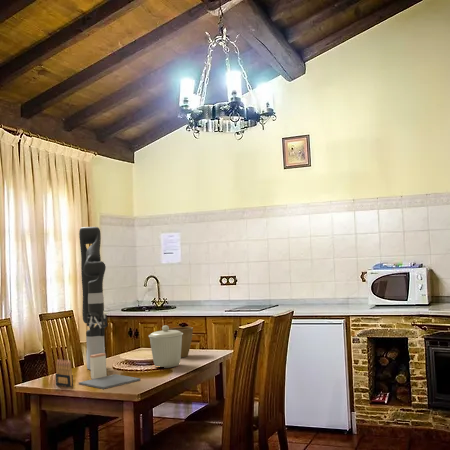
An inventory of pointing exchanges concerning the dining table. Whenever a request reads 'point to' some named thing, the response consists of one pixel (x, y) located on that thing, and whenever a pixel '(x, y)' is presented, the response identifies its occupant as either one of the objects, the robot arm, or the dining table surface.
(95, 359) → the cream block
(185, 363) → the dining table surface
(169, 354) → the canister
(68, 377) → the ammunition clip
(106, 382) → the rubber mat
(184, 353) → the plant pot
